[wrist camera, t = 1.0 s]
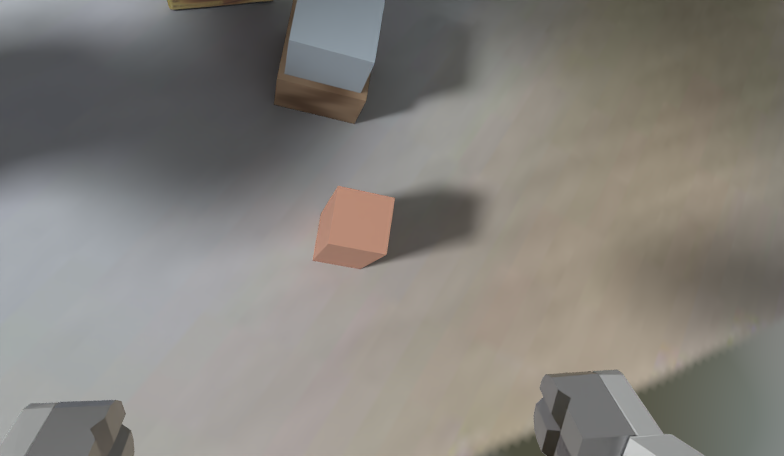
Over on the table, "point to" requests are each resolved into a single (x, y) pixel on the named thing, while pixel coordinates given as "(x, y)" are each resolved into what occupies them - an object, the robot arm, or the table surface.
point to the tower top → (334, 41)
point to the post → (354, 228)
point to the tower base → (316, 92)
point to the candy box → (205, 3)
